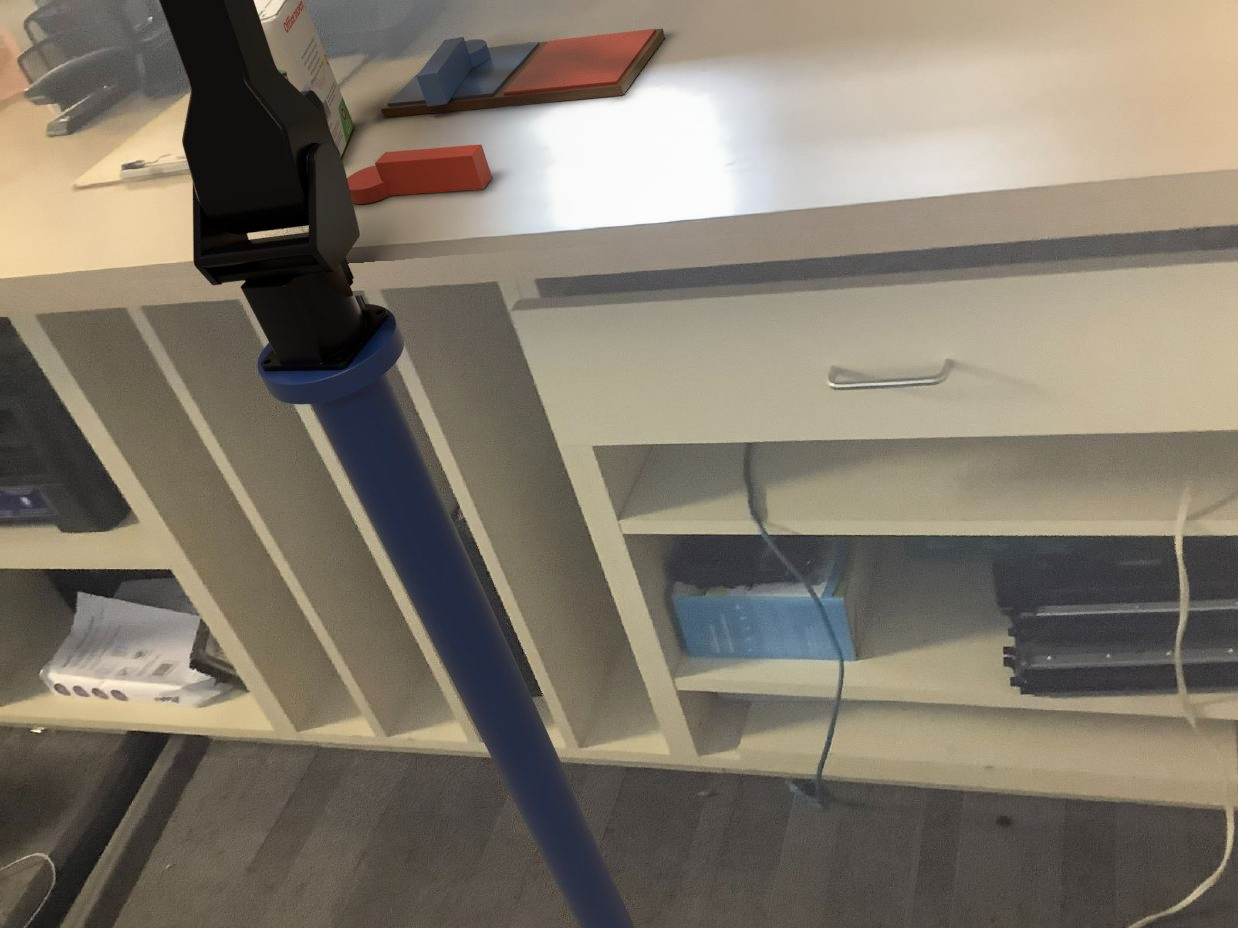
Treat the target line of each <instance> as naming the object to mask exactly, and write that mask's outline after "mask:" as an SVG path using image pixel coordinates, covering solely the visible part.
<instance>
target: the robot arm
mask: <svg viewBox="0 0 1238 928" xmlns="http://www.w3.org/2000/svg"><path fill="white" fill-rule="evenodd" d="M158 3H159V5H160V9H161V11H162V13H163V16H164V19H165V21H166V24H167V27H168V29H169V32H170V35H171V38H172V40H173V43H174V46H175V48H176V51H177V54H178V56H179V59H180V61H181V62H180V63H181V65H182V67H183V71H184V73H185V77H186V78H187V81H188V85H189V88H190V95H189V99H188V105H187V111H186V115H185V121H184V127H183V132H182V138H181V143H182V148H183V153H184V155H185V159H186V162H187V166H188V170H189V173H190V177H191V180H192V246H193V247H192V257H193V259H192V260H193V261H192V262H193V265H194V267H195V268H196V270H198V271H199V272H200V274H201V275H202V276H203V277H204V278H205V279H206V280H207V282H208V283H210V285H211V286H221V285H223V284H225V283H226V284H227V283H235V282H244V283H242V284H241V285H240V289H241V291H242V293H243V295H244V296H245V299H246V301H247V303H248V305H249V307H250V309H251V311H252V313H253V314H254V317H255V318H256V321H257V322H258V324H259V326H260V328H261V329H262V332H263V333H264V335H265V338H266V339H267V341H268V343H270V345H271V347H272V350H271V352H270V353H269V354H268V355H267V356H266V357H265V358H264V359H263V360H262V362H261V363H260V365H261V367H262V369H263V370H264V371H335V370H343V369H346V368H347V367H348V366H349V365H350V364H351V363H352V362H353V360H354V359H355V358H356V357H357V355H358V354H359V353H360V352H361V350H362V349H363V348H364V347H365V345H366V344H367V343H368V342H369V340H370V339H371V338H372V337H373V335H374V334H375V333H376V332H377V330H378V329H379V328H380V327H381V325H382V324H383V323H384V322H385V320H386V319H387V318H388V313H387V311H386V309H387V308H386V309H365V305H366V304H367V303H366V302H365V299H364V297H363V295H354V292H353V290H352V288H351V286H352V285H353V284H354V278H355V276H354V274H353V272H352V270H351V267H350V266H349V263H348V261H347V259H346V257H347V255H348V254H349V252H350V251H351V250H352V249H353V247H354V245H355V244H356V242H357V241H358V239H360V237H361V231H360V228H359V224H358V223H359V222H358V219H357V214H356V211H355V206H354V203H353V202H352V198H351V193H350V189H349V185H348V181H347V178H348V177H347V172H346V169H345V165H344V162H343V160H342V156H341V155H340V151H339V149H338V148H337V146H336V144H335V142H334V140H333V137H332V135H331V132H330V129H329V125H328V122H327V117H326V113H325V109H324V105H323V103H322V101H321V100H320V99H319V97H318V96H317V94H316V93H315V92H314V91H312V90H308V91H302V92H300V91H299V90H298V89H297V88H296V87H295V86H294V85H292V84H291V83H290V82H289V81H288V80H287V79H286V78H285V77H284V76H283V75H282V74H281V73H280V72H279V71H278V69H277V67H276V65H275V62H274V60H273V57H272V54H271V51H270V48H269V45H268V42H267V39H266V36H265V33H264V30H263V27H262V24H261V21H260V18H259V15H258V12H257V9H256V6H255V3H254V0H158ZM340 156H341V157H340ZM300 227H308V231H307V232H299V233H290V234H282V235H274V236H267V237H258V238H251V239H250V238H249V235H248V234H253V233H260V232H268V231H269V232H270V231H278V230H284V229H292V228H300Z"/></svg>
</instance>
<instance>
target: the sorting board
mask: <svg viewBox="0 0 1238 928" xmlns="http://www.w3.org/2000/svg"><path fill="white" fill-rule="evenodd" d="M664 39H665V32H664V28H648V29H640V30H630V31H622V32H621V31H620V32H613V33H605V34H597V35H587V36H578V37H577V36H576V37H569V38H561V39H552V40H548V41H534V42H525V43H524V42H523V43H515V44H506V45H499V46H489V47H488V46H487V47H488V50H489V53H490V58H489V59H488V60H487V61H486V62H484V63H483V64H481V65H478V66H476V67H473V68H472V69H471V70H470V72H469V73H468V75H467V76H466V78H465V79H464V81H463V82H462V83H461V85H460V86H459V88H458V89H457V91H456V92H455V93H454V95H453V96H452V98H451V99H450V101H449V102H448V104H443V105H436V106H430V107H427V104H426V101H425V98H424V95H423V93H422V90H421V87H420V84H419V81H418V79H417V75H418V74H419V72H418V73H417V74H415V76H414V77H412V78H411V79H410V80H409V82H407V83H406V84H405V85H404V86H403V87H402V88H401V89H400V90H399V91H398V92H397V93H396V94H395V95H394V96H393V97H391V98H390V100H389V101H387V102H386V103H385V104H384V105H383V106H382V107H381V108H380V111H381V113H382V114H381V115H382V116H383V118H395V117H406V116H418V115H427V114H437V113H447V112H458V111H469V110H479V109H480V110H481V109H490V108H491V109H492V108H501V107H502V108H503V107H512V106H523V105H535V104H543V103H544V104H545V103H554V102H555V103H556V102H565V101H575V100H576V101H577V100H586V99H597V98H607V97H618V96H620V97H621V96H624V95H625V94H626V92H627V90H628V89H629V88H630V86H631V85H632V84H633V82H634V81H635V80H636V78H637V77H638V76H639V74H640V73H641V71H642V70H643V69H644V67H645V66H646V64H647V63H648V61H649V60H650V59H651V58H652V56H653V54H654V53H655V52H656V50H657V49H658V48H659V47H660V45H661V44H662V42H663V41H664Z"/></svg>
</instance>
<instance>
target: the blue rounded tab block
mask: <svg viewBox="0 0 1238 928" xmlns="http://www.w3.org/2000/svg"><path fill="white" fill-rule="evenodd" d="M489 58H490V53H489V50H488V44H487V41H486V40H484V39H477V38H476V39H467V40H466V39H465V37H464V36H459V37H453V38H448V39H444V40H443V41H442V42H441V44H440V45H439V47H438V48H437V49H436V50H435V52H434V53H433V54H432V55H431V57H430V58H429V59H428V60H427V62H426V63H425V65H424V66H423V67H422V68H421V69H420V70H419V72H418V73H419V74H418V73H417V74H418V75H417V74H416V75H417V79H418V81H419V84H420V87H421V90H422V93H423V95H424V98H425V101H426V104H427V107H430V106H436V105H443V104H448V102H449V101H450V99H451V98H452V96H453V95H454V93H455V92H456V91H457V89H458V88H459V86H460V85H461V83H462V82H463V81H464V79H465V78H466V76H467V75H468V73H469V72H470V70H471V69H472V68H473V67H476V66H478V65H481V64H483V63H484V62H486V61H487V60H488V59H489Z"/></svg>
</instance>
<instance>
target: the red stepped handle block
mask: <svg viewBox="0 0 1238 928" xmlns="http://www.w3.org/2000/svg"><path fill="white" fill-rule="evenodd" d="M492 179H493V175H492V172H491V168H490V165H489V162H488V160H487V157H486V154H485V150H484V147H483V144H481V143H479V144H467V145H455V146H454V145H453V146H444V147H432V148H420V149H419V148H418V149H406V150H393V151H385V152H384V153H383V154H382V155H381V156H380V157H378V159H377V160H376V161H375V162H374V165H372V166H371V165H370V166H367V167H364V168H362V169H360V170H358V171H355V172H354V173H352V174H351V175H349V176H348V177H347V181H348V185H349V189H350V193H351V198H352V202H353V204H355V205H366V204H371V203H376V202H378V201H381V200H384V199H387V198H388V197H391V196H402V195H403V196H404V195H417V194H433V193H446V192H462V191H463V192H464V191H475V190H476V191H477V190H484V189H485V187H487V185H488V184H489V183H490V182H491V180H492Z"/></svg>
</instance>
